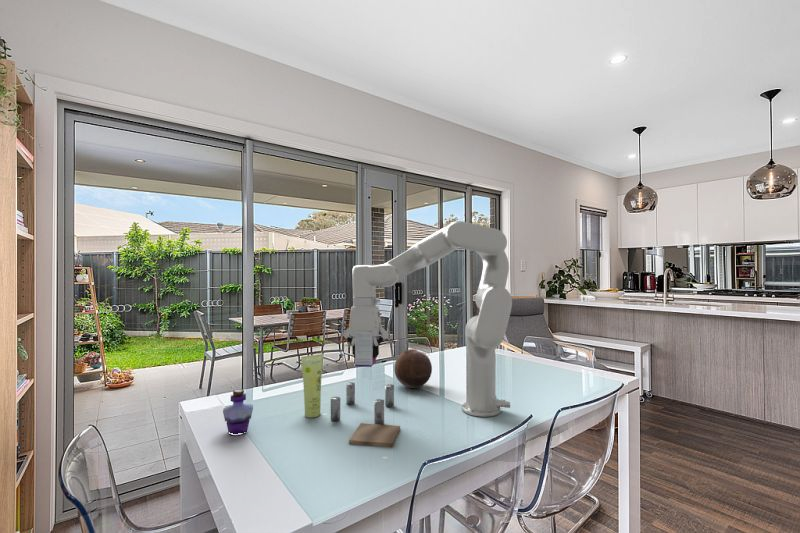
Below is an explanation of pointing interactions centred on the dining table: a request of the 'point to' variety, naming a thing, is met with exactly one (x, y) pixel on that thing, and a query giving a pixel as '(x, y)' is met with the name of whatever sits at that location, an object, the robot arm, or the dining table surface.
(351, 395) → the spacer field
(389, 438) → the walnut pad
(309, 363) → the tube
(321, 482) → the dining table surface
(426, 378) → the wooden sphere
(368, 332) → the supplement box
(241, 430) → the potion bottle
